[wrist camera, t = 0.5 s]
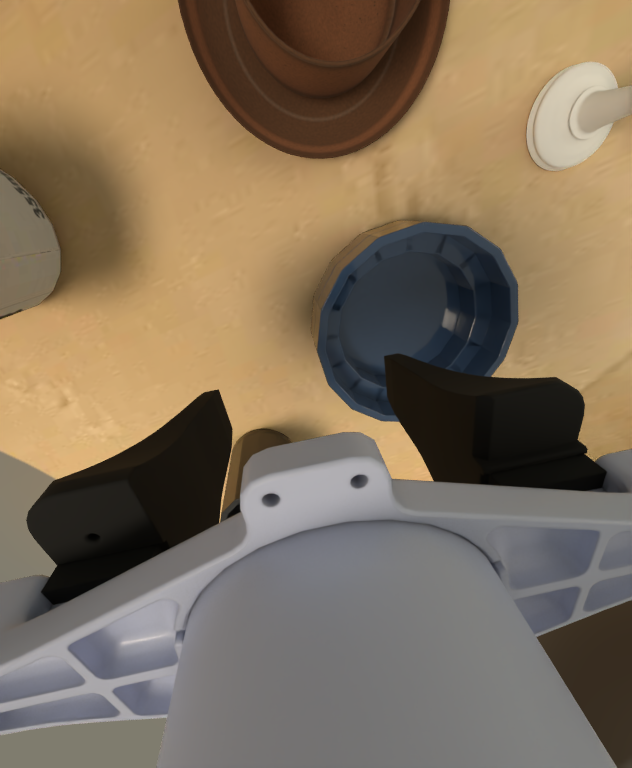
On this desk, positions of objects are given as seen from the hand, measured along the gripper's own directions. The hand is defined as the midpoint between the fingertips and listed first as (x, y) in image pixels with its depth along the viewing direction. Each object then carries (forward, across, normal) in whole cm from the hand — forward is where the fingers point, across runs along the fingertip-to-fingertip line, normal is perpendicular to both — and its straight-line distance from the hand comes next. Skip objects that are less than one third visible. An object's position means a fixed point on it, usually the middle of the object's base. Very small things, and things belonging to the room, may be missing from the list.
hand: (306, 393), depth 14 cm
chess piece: (+10, -18, -9) cm, 22 cm away
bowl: (+10, -7, +1) cm, 12 cm away
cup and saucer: (+10, -4, -15) cm, 18 cm away
